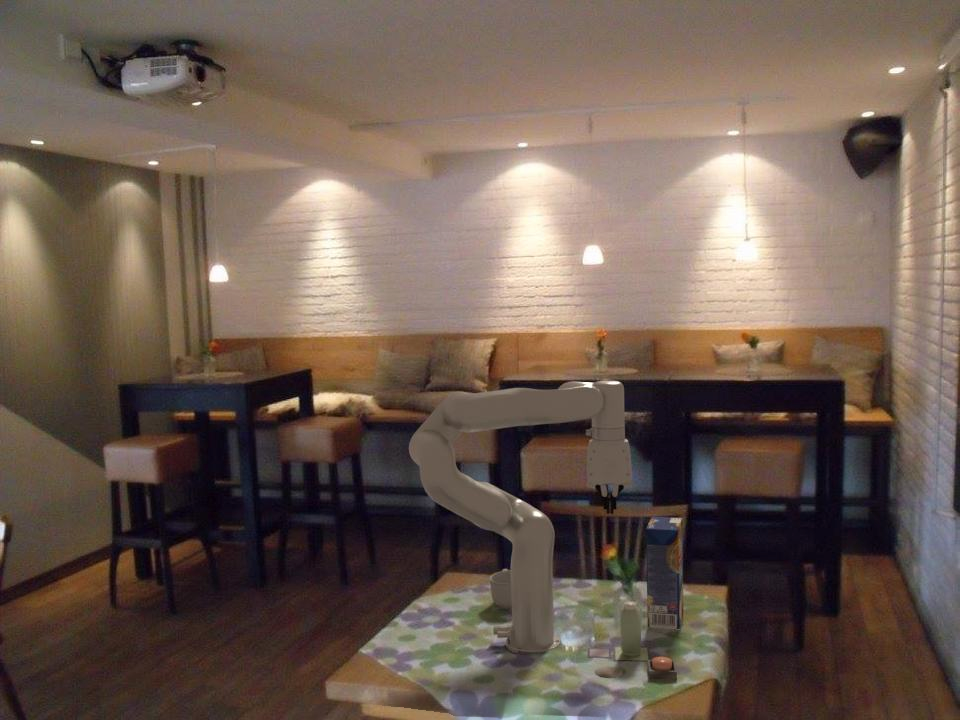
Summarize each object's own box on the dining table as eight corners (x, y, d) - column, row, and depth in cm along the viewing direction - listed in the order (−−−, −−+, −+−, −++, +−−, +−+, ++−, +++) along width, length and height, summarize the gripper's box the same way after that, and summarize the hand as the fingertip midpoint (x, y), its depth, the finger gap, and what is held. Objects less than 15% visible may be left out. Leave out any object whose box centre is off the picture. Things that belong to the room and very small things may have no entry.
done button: (652, 673, 187) (652, 664, 187) (651, 665, 191) (651, 656, 191) (672, 674, 187) (672, 664, 187) (671, 666, 191) (671, 656, 191)
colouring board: (579, 686, 187) (579, 673, 186) (581, 648, 206) (581, 636, 206) (679, 689, 184) (678, 676, 184) (671, 650, 204) (671, 638, 203)
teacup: (533, 612, 231) (532, 581, 230) (490, 613, 231) (489, 582, 230) (530, 594, 244) (530, 565, 244) (490, 595, 245) (489, 566, 244)
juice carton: (679, 630, 216) (677, 530, 214) (647, 627, 218) (645, 528, 216) (683, 612, 227) (682, 517, 225) (653, 610, 229) (651, 516, 227)
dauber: (621, 657, 198) (620, 607, 197) (620, 649, 202) (619, 600, 201) (641, 657, 197) (640, 607, 197) (640, 649, 202) (639, 600, 201)
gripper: (575, 437, 208) (577, 516, 209) (641, 436, 206) (643, 516, 207) (576, 432, 216) (578, 508, 217) (640, 431, 213) (642, 508, 215)
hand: (610, 512), depth 212 cm, fingers closed
